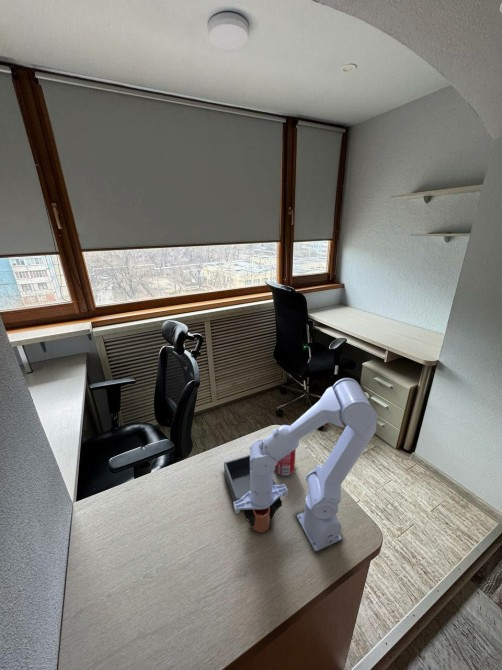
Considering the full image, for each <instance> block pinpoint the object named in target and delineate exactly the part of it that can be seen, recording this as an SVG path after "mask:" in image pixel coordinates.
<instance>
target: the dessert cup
mask: <svg viewBox="0 0 502 670" xmlns="http://www.w3.org/2000/svg"><path fill="white" fill-rule="evenodd" d="M253 511H254V514H255V517H254V526H253V527H252V529H253V530H254V531H255V532H258V533H265V532H266V531H267V530H269V528H270V525H271V519H270V506H269V507H268V508H266V509H253Z"/></svg>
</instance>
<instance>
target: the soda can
mask: <svg viewBox="0 0 502 670" xmlns="http://www.w3.org/2000/svg"><path fill="white" fill-rule="evenodd" d="M296 451H297V448H296V449H295V450H293V451H292V452H291V453H289V454H288V455H286V456H285V457H284V458H282V459H281V460H279V461H278V462H277V465H276V466H275V470H274V472H276V473H277V474H278V475H280V476H289V475H291V474H292V473H294V470H295V467H296Z"/></svg>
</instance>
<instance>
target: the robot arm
mask: <svg viewBox="0 0 502 670" xmlns="http://www.w3.org/2000/svg"><path fill="white" fill-rule="evenodd" d="M378 418H379V415H378V413H377V412H376V410H375V409H374V407H373V406H372V404H371V403H370V400H368V398H367V395H366V394H365V392H364V390H363V387H361V385H360V384H359V382H358V380H355V379H354V378H351V377H343V378H340V379H339V380H337V381H335V383H334V384H333V385H331V386H329V387H328V388H326V390H325V391H324V393H323V394H322V396H320V399H319V400H318V401H317V402H316V403H315V404H313V405H312V406H311V407H310V408H308V410H306V411H305V412H304V413H303V414H302V415H301V416H300V417H299V418H298V419H296V420H295V422H293V423H292V424H291V425H289V424H282V425H281V426H279V427H278V428H275V429H273V430H272V433H271V434H269V435H268V436H266V438H264V439H258V440H256V441H255V442H253V443H252V444H251V445H250V446H249V455H250V491H249V492H248V493H246V494H245V495H244V496H243V497H241V498H240V499H239V500H237V501H235V502H234V501H233V509H234V513H235V515H237V514H240V513H241V511H242V513H243V514H244V517H245V519H246V520H247V521H248V523H249V526H250V528H253V526H254V517H255V514H254V511H253V509H266V508H268V507H269V506H270V520H273V519H274V516H275V515H276V513H277V511H278V510H279V509H280V508H281V507H282V506H283V501H282V499H281V496H283V497H286V496H288V493H289V492H288V491H289V489H288V488H287V485H286V484H285V483H283V484H276V485H273V480H274V472H275V466H276V465H277V462H278V461H279V460H281V459H282V458H284V457H285V456H286V455H288V454H289V453H291V452H292V451H293V450H295V449H296V450H297V449H298V447H299V446H300V439H302V438H304V437H306V436H307V435H309V434H311V433H312V432H314V431H316V430H317V429H319V428H321V427H322V426H324V425H325V424H327V423H329V424H331V425H334V426H337V427H340V428H344V427H345V428H344V430H343V431H342V433H341V434H340V435H339V437H338V440H337V441H336V443H335V445H334V446H333V448H332V449H331V451H330V453H329V455H328V456H327V458H326V459H325V462H324V463H323V465H321V464H320V465H319V464H318V465H316V466H315V467H314V469H312V470H311V471H309V472H308V473H307V475H306V477H305V480H306V484H307V489H308V491H307V493H306V495H305V502H304V510H303V511H304V512H301V513H298V514H297V515H296V518H297V521H298V522H299V524H300V526H301V527H302V529H303V532H304V534H305V535H306V538H307V539H308V541H309V543H310V545H311V546H312V549H313V551H315V552H318V551H321V550H322V549H324V548H327V547H329V546H331V545H333V544H335V543H338V542H339V541H341V540H342V536H341V529H342V524H341V522H340V519H339V518H338V516H337V513H338V512H339V505H340V503H341V500H342V497H341V496H342V484H343V482H344V481H345V479H346V478H347V476H348V475H349V473H350V472H351V470H352V469H353V467H354V465H355V464H356V463H357V461H358V459H359V458H360V456H361V455H362V453H363V452H364V450H365V449H366V447H367V446H368V444H369V443H370V441H371V440H372V438H373V437H374V435H375V434H376V432H377V419H378ZM344 424H345V425H346V426H344Z"/></svg>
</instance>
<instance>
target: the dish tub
mask: <svg viewBox="0 0 502 670" xmlns="http://www.w3.org/2000/svg"><path fill="white" fill-rule="evenodd" d="M223 470H224V471H223V472H224V476H225V480H226V483H227V485H228V489H229V492H230V495H231V498H232V500H233V502H235V501H237V500H239V499H240V498H241V497H243V496H244V495H245V494H246V493H248V492H249V491H250V454H247V455H244V456H241V457H238V458H233V459H231V460H227V461H224V462H223ZM273 485H277V484H276V482H275V480H274V479H273Z"/></svg>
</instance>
